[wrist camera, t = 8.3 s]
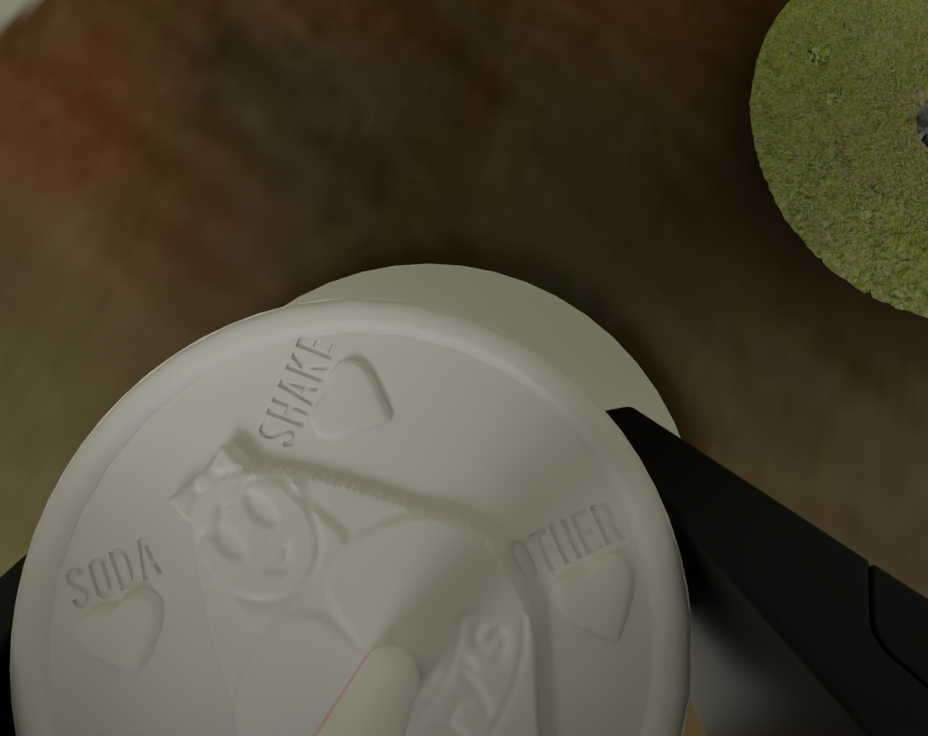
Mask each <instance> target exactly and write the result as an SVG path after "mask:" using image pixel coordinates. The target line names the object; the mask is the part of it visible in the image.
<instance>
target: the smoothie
mask: <svg viewBox="0 0 928 736" xmlns="http://www.w3.org/2000/svg"><path fill="white" fill-rule="evenodd" d="M692 661H693V647H692V619H691V611H690V603H689V595H688V587H687V582H686V577H685V573H684V568H683V564H682V559H681V555H680V551H679V548H678V544H677V541H676V538H675V535H674V532H673V529H672V526H671V523H670V519H669V517H668V515H667V512H666V510H665V508H664V505H663V503H662V501H661V498H660V496H659V494H658V491H657V489H656V487H655V485H654V483H653V481H652V479H651V478H650V476H649V474H648V472H647V470H646V468H645V467H644V465H643V463H642V461H641V459H640V458H639V456H638V455H637V453H636V452H635V450H634V449H633V447H632V446H631V444H630V443H629V441H628V440H627V438H626V437H625V435H624V434H623V432H622V431H621V430H620V428H619V427H618V426H617V425H616V424H615V422H614V421H613V420H612V419H611V417H610V416H609V415H608V414H607V413H606V411H605V410H604V409H603V408H602V406H601V405H600V404H599V403H598V402H597V401H596V400H595V399H594V398H593V397H592V396H591V395H590V394H589V393H588V392H587V391H586V390H585V389H584V388H583V387H582V386H581V385H580V384H579V383H578V382H577V381H575V380H574V379H573V378H572V377H570V376H569V375H568V374H567V373H566V372H564V371H563V370H562V369H561V368H560V367H558V366H557V365H556V364H555V363H554V362H552V361H551V360H549V359H548V358H546V357H545V356H543V355H542V354H540V353H539V352H537V351H536V350H535V349H533V348H532V347H530V346H529V345H527V344H525V343H523V342H522V341H520V340H518V339H516V338H514V337H512V336H511V335H509V334H507V333H505V332H503V331H501V330H499V329H497V328H495V327H492V326H490V325H488V324H486V323H483V322H481V321H479V320H476V319H474V318H471V317H468V316H465V315H462V314H459V313H456V312H453V311H449V310H446V309H443V308H439V307H434V306H430V305H425V304H420V303H416V302H410V301H402V300H393V299H385V298H338V299H325V300H316V301H310V302H305V303H299V304H293V305H288V306H284V307H281V308H277V309H273V310H270V311H266V312H262V313H259V314H256V315H253V316H251V317H248V318H245V319H243V320H240V321H237V322H235V323H232V324H230V325H227V326H225V327H223V328H221V329H219V330H217V331H215V332H213V333H211V334H209V335H207V336H205V337H203V338H201V339H199V340H197V341H196V342H194V343H192V344H191V345H189V346H187V347H186V348H184V349H182V350H181V351H179V352H177V353H176V354H174V355H173V356H172V357H170V358H169V359H167V360H166V361H165V362H163V363H162V364H161V365H159V366H158V367H157V368H155V369H154V370H152V371H151V372H150V373H148V374H147V375H146V376H145V377H144V378H143V379H142V380H141V381H139V382H138V383H137V384H136V385H135V386H134V387H133V388H131V389H130V390H129V391H128V392H127V393H126V394H125V395H124V396H123V397H122V398H121V399H120V400H119V401H118V402H117V403H116V404H115V405H114V406H113V407H112V408H111V409H110V410H109V412H108V413H107V414H106V415H105V416H104V417H103V418H102V419H101V420H100V422H99V423H98V424H97V425H96V427H95V428H94V429H93V430H92V432H91V433H90V434H89V435H88V437H87V438H86V439H85V441H84V442H83V443H82V444H81V446H80V447H79V449H78V451H77V452H76V454H75V455H74V457H73V458H72V460H71V461H70V463H69V464H68V466H67V467H66V469H65V470H64V472H63V474H62V476H61V477H60V479H59V481H58V483H57V485H56V487H55V489H54V491H53V492H52V494H51V496H50V498H49V500H48V502H47V504H46V506H45V509H44V511H43V513H42V516H41V518H40V521H39V523H38V525H37V528H36V530H35V532H34V535H33V538H32V541H31V544H30V547H29V551H28V554H27V557H26V560H25V563H24V566H23V570H22V575H21V579H20V584H19V588H18V592H17V597H16V602H15V610H14V617H13V625H12V632H11V651H10V685H11V705H12V712H13V719H14V726H15V733H16V736H683V734H684V730H685V724H686V718H687V711H688V705H689V699H690V692H691V677H692Z"/></svg>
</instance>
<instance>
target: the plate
mask: <svg viewBox="0 0 928 736" xmlns="http://www.w3.org/2000/svg"><path fill="white" fill-rule="evenodd" d="M338 298H385V299H393V300H402V301H410V302H416V303H420V304H425V305H430V306H434V307H439V308H443V309H446V310H449V311H453V312H456V313H459V314H462V315H465V316H468V317H471V318H474V319H476V320H479V321H481V322H483V323H486V324H488V325H490V326H492V327H495V328H497V329H499V330H501V331H503V332H505V333H507V334H509V335H511V336H512V337H514V338H516V339H518V340H520V341H522V342H523V343H525V344H527V345H529V346H530V347H532V348H533V349H535V350H536V351H537V352H539V353H540V354H542V355H543V356H545V357H546V358H548V359H549V360H551V361H552V362H554V363H555V364H556V365H557V366H558V367H560V368H561V369H562V370H563V371H564V372H566V373H567V374H568V375H569V376H570V377H572V378H573V379H574V380H575V381H577V382H578V383H579V384H580V385H581V386H582V387H583V388H584V389H585V390H586V391H587V392H588V393H589V394H590V395H591V396H592V397H593V398H594V399H595V400H596V401H597V402H598V403H599V404H600V405H601V406H602V408H603V409H604V410H610V409H615V408H621V407H628V406H630V407H633V408H635V409H636V410H638V411H640V412H641V413H643V414H644V415H646V416H647V417H649V418H650V419H652V420H653V421H655V422H656V423H658V424H659V425H661V426H663V427H664V428H666V429H667V430H669V431H670V432H672V433H673V434H675V435H676V436H678V437H679V438H680V435H679V433H678V430H677V428H676V425H675V423H674V421H673V419H672V417H671V415H670V413H669V412H668V410H667V408H666V406H665V404H664V402H663V401H662V399H661V397H660V395H659V393H658V391H657V390H656V389H655V387H654V386H653V384H652V383H651V382H650V380H649V379H648V377H647V376H646V375H645V373H644V372H643V371H642V369H641V368H640V366H639V365H638V364H637V362H636V361H635V360H634V359H633V358H632V357H631V356H630V355H629V354H628V353H627V352H626V351H625V350H624V348H623V347H622V346H621V345H620V344H619V343H618V342H617V341H616V340H615V339H614V338H613V337H612V336H611V335H610V334H609V333H607V332H606V331H605V330H604V329H602V328H601V327H600V326H599V325H598V324H596V323H595V322H594V321H593V320H592V319H590V318H589V317H588V316H587V315H585V314H584V313H582V312H581V311H579V310H578V309H576V308H574V307H573V306H571V305H570V304H568V303H567V302H565V301H563V300H562V299H560V298H559V297H557V296H555V295H553V294H550V293H548V292H546V291H544V290H542V289H540V288H538V287H536V286H534V285H531V284H529V283H527V282H524V281H521V280H518V279H515V278H512V277H509V276H506V275H503V274H500V273H496V272H492V271H487V270H482V269H477V268H471V267H466V266H458V265H442V264H415V265H399V266H391V267H386V268H380V269H375V270H370V271H365V272H360V273H357V274H354V275H351V276H348V277H345V278H342V279H339V280H336V281H333V282H330V283H327V284H325V285H323V286H321V287H319V288H317V289H315V290H312V291H310V292H308V293H306V294H304V295H302V296H300V297H298V298H296V299H295V300H293V301H291V302H290V303H288V304H287V305H285V306H288V305H293V304H299V303H305V302H310V301H316V300H325V299H338Z"/></svg>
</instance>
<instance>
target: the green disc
mask: <svg viewBox="0 0 928 736" xmlns="http://www.w3.org/2000/svg"><path fill="white" fill-rule="evenodd" d="M749 106H750V109H751V111H750V113H749V114H750V116H751V125H752V134H753V136H754V145H755V149H756V152H757V156H758V160H759V165H760V167H761V169H762V172H763V176H764V179H765V180H766V181H767V182H768V185H769V190H770V192H771V193H772V195H773V196H774V201H775V203H776V204H777V206H778V207H779V209H780V211H781V213H782V215H783V217H784V219H785V220H786V221H787V222H788V223H789V224H790V226H791V227H792V229H793V231H794V232H796V233H797V234H798V235H800V237H801V238H802V240H803V241H804V243H805V244H806V246H807V247H808V248H809V249H811V250H812V252H813V253H814V254H815V255H816V257H818V258H821V259H822V261H823V263H824V265H826V266H827V267H828V268H829V269H830V270H831V271H832V272H834V273H835V274H837V275H839V276H840V277H842V278H844V279H846V280H847V281H848V282H849V283H850V284H851V285H852V286H854V287H855V288H857V289H859V290H860V291H861V292H863V293H867V292H870V291H871V295H872V298H875V299H877V300H879V301H881V302H884V303H890V304H891V305H892V306H893V307H895V308H896V309H901V310H905V311H908V312H911V313H914V314H917V315H920V316H923V317H926V318H928V0H790V1H789V2H788V3H787V4H786V5H785V7H784V8H783V9H782V11H781V12H780V13H779V15H778V16H777V18H776V19H775V21H774V23H773V25H772V27H771V28H770V30H769V31H768V33H767V35H766V37H765V39H764V42H763V45H762V47H761V50H760V53H759V57H758V58H757V60H756V67H755V74H754V77H753V81H752V91H751V97H750V101H749Z"/></svg>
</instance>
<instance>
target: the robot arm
mask: <svg viewBox="0 0 928 736" xmlns="http://www.w3.org/2000/svg"><path fill="white" fill-rule="evenodd" d="M605 411H606V413H607V414H608V415H609V416H610V417H611V419H612V420H613V421H614V422H615V424H616V425H617V426H618V427H619V428H620V430H621V431H622V432H623V434H624V435H625V437H626V438H627V440H628V441H629V443H630V444H631V446H632V447H633V449H634V450H635V452H636V453H637V455H638V456H639V458H640V459H641V461H642V463H643V465H644V467H645V468H646V470H647V472H648V474H649V476H650V478H651V479H652V481H653V483H654V485H655V487H656V489H657V491H658V494H659V496H660V498H661V501H662V503H663V505H664V508H665V510H666V512H667V515H668V517H669V519H670V523H671V526H672V529H673V532H674V535H675V538H676V541H677V544H678V548H679V551H680V555H681V559H682V564H683V568H684V573H685V577H686V582H687V587H688V595H689V603H690V611H691V619H692V647H693V661H692V677H691V692H690V699H691V701H692V704H693V706H694V708H695V710H696V712H697V715H698V717H699V719H700V721H701V723H702V726H703V728H704V730H705V732H706V734H707V736H928V599H927V598H926V597H924V596H922V595H921V594H919V593H918V592H916V591H914V590H913V589H911V588H910V587H908V586H906V585H905V584H903V583H902V582H900V581H899V580H897V579H896V578H894V577H893V576H891V575H890V574H888V573H887V572H885V571H883V570H882V569H880V568H879V567H877V566H875V565H872V566H870V567H869V563H868V561H867V560H866V559H865V558H863V557H862V556H860V555H859V554H857V553H855V552H854V551H852V550H851V549H849V548H848V547H846V546H845V545H843V544H842V543H840V542H839V541H837V540H836V539H834V538H832V537H831V536H829V535H828V534H826V533H825V532H823V531H822V530H820V529H819V528H817V527H816V526H814V525H813V524H811V523H810V522H808V521H806V520H805V519H803V518H802V517H800V516H799V515H797V514H796V513H794V512H793V511H791V510H790V509H788V508H787V507H785V506H783V505H782V504H780V503H779V502H777V501H776V500H774V499H773V498H771V497H770V496H768V495H767V494H765V493H764V492H762V491H761V490H759V489H757V488H756V487H754V486H753V485H751V484H750V483H748V482H747V481H745V480H744V479H742V478H741V477H739V476H738V475H736V474H734V473H733V472H731V471H730V470H728V469H727V468H725V467H724V466H722V465H721V464H719V463H718V462H716V461H715V460H713V459H712V458H710V457H708V456H707V455H705V454H704V453H702V452H701V451H699V450H698V449H696V448H695V447H693V446H692V445H690V444H689V443H687V442H685V441H684V440H682V439H681V438H679V437H678V436H676V435H675V434H673V433H672V432H670V431H669V430H667V429H666V428H664V427H663V426H661V425H659V424H658V423H656V422H655V421H653V420H652V419H650V418H649V417H647V416H646V415H644V414H643V413H641V412H640V411H638V410H636V409H635V408H633V407H630V406H628V407H621V408H615V409H610V410H605ZM27 554H28V553H27ZM27 554H26V555H25V556H24V557H23V558H22V559H20V560H19V561H18V562H17V563H16V564H15V565H14V566H13V567H12V568H10V569H9V570H8V571H7V572H6V573H5V574H4V575H3V576H2V577H0V736H16V733H15V726H14V719H13V712H12V705H11V685H10V651H11V632H12V625H13V617H14V610H15V602H16V597H17V592H18V588H19V584H20V579H21V575H22V570H23V566H24V563H25V560H26V557H27Z"/></svg>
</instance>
